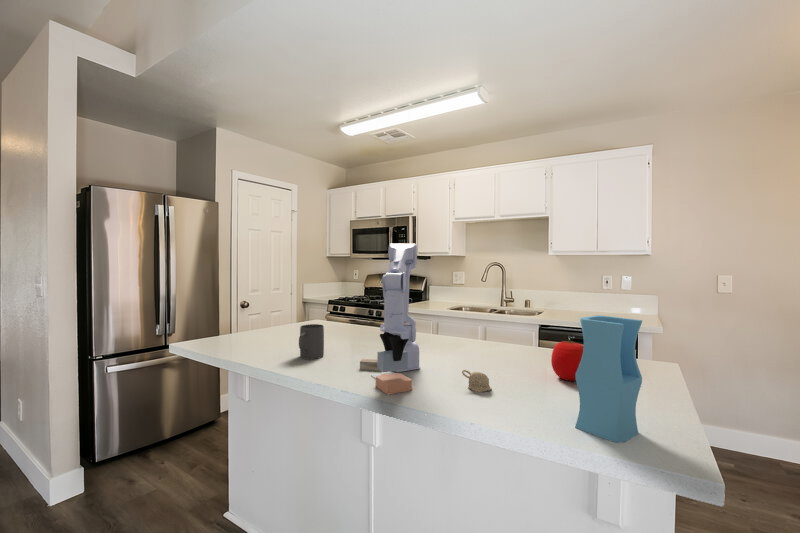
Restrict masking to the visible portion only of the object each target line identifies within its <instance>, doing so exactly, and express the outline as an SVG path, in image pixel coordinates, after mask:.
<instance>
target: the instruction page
mask: <svg viewBox="0 0 800 533" xmlns="http://www.w3.org/2000/svg"><path fill="white" fill-rule="evenodd" d="M394 373H395V371H389V372H382V373H378V374H377V373H376V374H372V375H370V376H371V377H372V378H374V379H375V380H376V376H382V375H388V374H394Z"/></svg>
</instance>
